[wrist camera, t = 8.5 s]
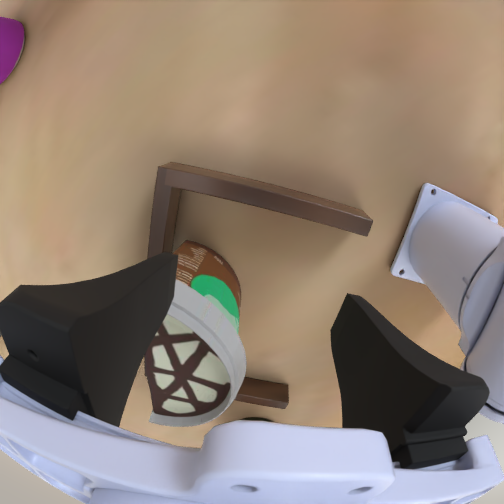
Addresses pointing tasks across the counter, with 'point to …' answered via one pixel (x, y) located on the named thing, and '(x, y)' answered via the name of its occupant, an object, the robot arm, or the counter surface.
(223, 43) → the counter surface
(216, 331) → the food container
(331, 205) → the brown frame
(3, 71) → the beverage can
